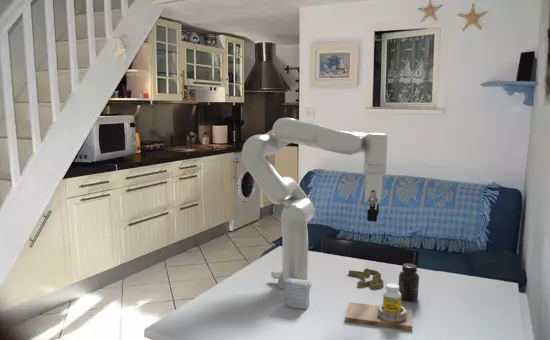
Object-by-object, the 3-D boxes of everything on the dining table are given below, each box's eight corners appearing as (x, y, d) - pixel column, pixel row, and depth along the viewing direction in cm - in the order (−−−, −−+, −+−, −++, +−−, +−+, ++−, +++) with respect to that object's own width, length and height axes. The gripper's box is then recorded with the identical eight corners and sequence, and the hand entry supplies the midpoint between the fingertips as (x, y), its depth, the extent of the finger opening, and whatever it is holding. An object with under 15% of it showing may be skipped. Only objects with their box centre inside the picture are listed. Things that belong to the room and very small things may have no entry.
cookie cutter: (346, 273, 184) (346, 268, 184) (374, 272, 185) (375, 268, 185) (359, 290, 166) (359, 285, 166) (390, 289, 168) (391, 284, 167)
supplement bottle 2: (419, 303, 154) (420, 269, 153) (398, 301, 156) (400, 267, 154) (416, 295, 161) (418, 263, 160) (397, 293, 162) (398, 261, 161)
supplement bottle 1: (399, 311, 144) (400, 282, 143) (401, 319, 138) (402, 289, 137) (381, 310, 144) (383, 281, 143) (383, 317, 139) (384, 288, 138)
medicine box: (309, 305, 152) (310, 280, 151) (306, 310, 147) (306, 285, 146) (287, 301, 154) (287, 277, 153) (283, 306, 150) (283, 281, 149)
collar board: (344, 321, 140) (345, 311, 139) (349, 306, 151) (349, 296, 151) (412, 330, 134) (412, 319, 134) (411, 314, 146) (411, 303, 145)
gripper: (365, 166, 164) (364, 212, 166) (361, 171, 147) (359, 222, 149) (387, 167, 162) (385, 213, 164) (385, 172, 145) (382, 224, 147)
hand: (372, 218), depth 157 cm, fingers open, 9 cm apart
